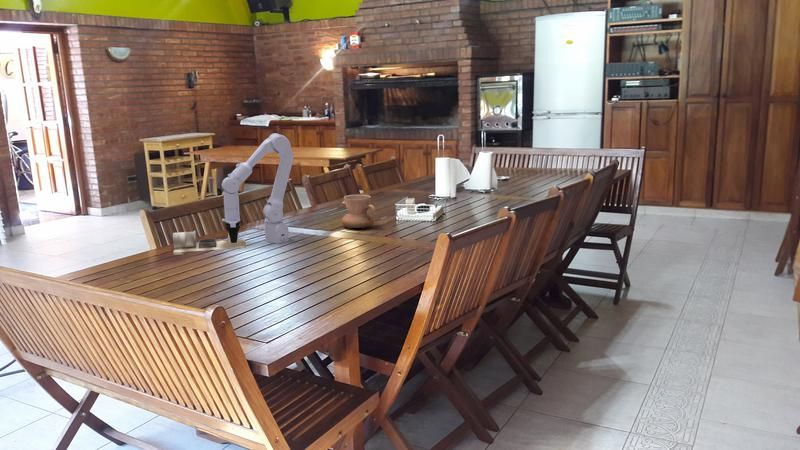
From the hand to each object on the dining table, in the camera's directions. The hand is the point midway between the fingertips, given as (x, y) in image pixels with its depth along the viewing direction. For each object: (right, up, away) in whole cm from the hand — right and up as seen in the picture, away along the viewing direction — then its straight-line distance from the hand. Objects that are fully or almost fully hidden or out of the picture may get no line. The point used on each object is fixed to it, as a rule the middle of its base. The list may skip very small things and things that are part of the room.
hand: (233, 241), depth 253 cm
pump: (0, -1, 0) cm, 1 cm away
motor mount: (-8, -3, -2) cm, 8 cm away
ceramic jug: (+48, +5, +34) cm, 59 cm away
